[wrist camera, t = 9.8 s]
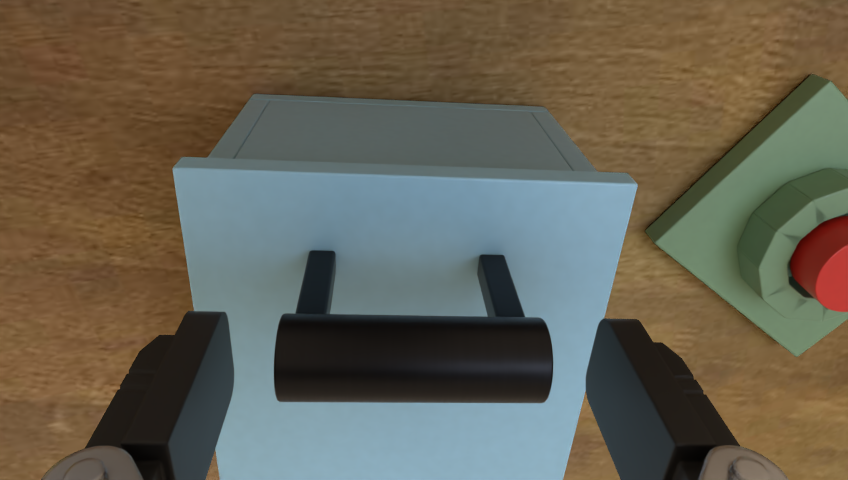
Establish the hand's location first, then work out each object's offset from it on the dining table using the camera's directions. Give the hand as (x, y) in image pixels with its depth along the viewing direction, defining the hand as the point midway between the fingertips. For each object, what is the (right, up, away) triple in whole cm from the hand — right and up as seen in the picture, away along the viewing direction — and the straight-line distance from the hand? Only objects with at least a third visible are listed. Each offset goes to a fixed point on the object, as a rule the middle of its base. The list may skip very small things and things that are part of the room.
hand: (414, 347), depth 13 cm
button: (+17, +2, +12) cm, 21 cm away
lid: (-1, -2, +6) cm, 6 cm away
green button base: (+17, +3, +14) cm, 23 cm away
